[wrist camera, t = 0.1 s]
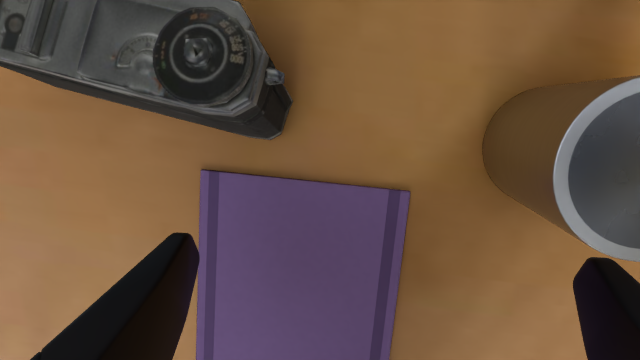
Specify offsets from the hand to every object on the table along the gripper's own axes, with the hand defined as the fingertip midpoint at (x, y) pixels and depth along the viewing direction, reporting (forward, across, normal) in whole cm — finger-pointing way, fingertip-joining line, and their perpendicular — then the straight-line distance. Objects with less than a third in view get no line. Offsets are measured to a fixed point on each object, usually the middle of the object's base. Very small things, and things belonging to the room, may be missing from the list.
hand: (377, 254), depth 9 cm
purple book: (+7, +5, +16) cm, 19 cm away
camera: (+17, +12, +2) cm, 21 cm away
